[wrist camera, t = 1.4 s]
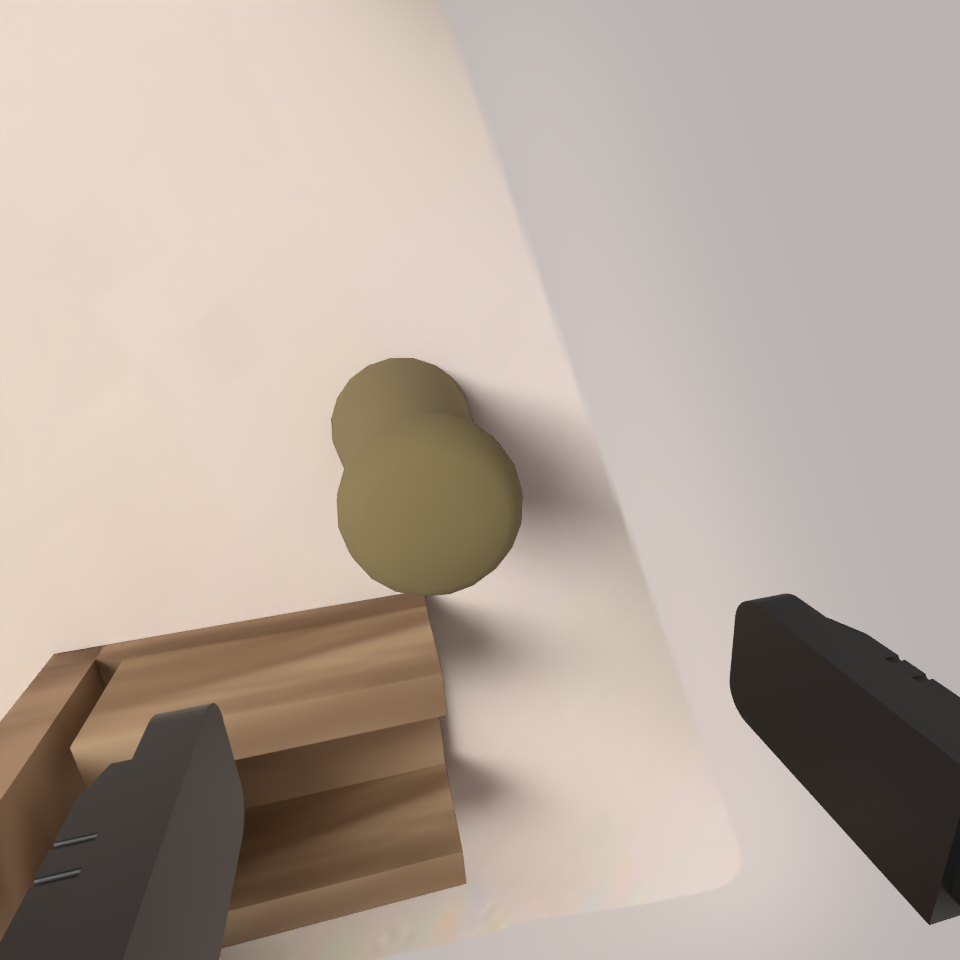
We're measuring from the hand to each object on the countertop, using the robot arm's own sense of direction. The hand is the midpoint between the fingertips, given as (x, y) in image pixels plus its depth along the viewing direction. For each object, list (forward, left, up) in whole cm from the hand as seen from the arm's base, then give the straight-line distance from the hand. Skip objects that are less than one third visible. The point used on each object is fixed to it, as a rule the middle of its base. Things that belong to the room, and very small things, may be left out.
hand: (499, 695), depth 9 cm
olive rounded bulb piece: (0, 0, -18) cm, 18 cm away
